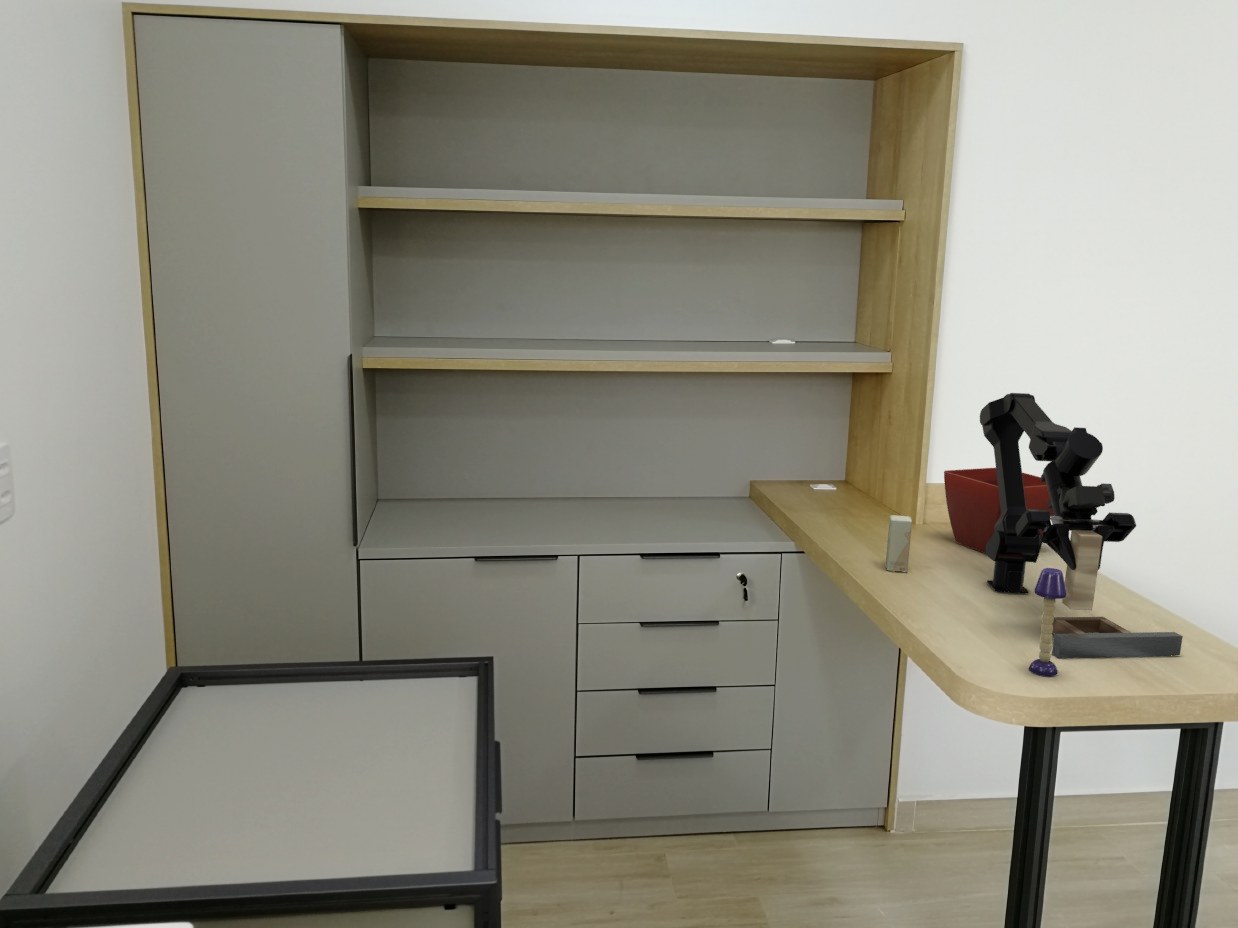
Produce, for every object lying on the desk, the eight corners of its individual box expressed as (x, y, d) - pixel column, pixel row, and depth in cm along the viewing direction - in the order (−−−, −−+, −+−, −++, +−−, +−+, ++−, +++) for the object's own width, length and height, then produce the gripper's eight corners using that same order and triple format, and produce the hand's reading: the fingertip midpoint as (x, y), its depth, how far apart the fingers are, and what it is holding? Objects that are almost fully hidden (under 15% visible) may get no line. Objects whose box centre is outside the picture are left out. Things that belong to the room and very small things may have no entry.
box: (907, 573, 214) (912, 521, 212) (886, 571, 215) (891, 519, 213) (905, 566, 219) (910, 515, 217) (885, 564, 220) (889, 514, 218)
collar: (1049, 630, 182) (1051, 617, 182) (1101, 629, 184) (1102, 616, 183) (1082, 651, 173) (1084, 637, 172) (1136, 650, 174) (1138, 636, 174)
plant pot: (1058, 555, 233) (1067, 483, 230) (996, 563, 224) (1005, 488, 221) (994, 534, 250) (1002, 466, 246) (934, 541, 241) (941, 470, 238)
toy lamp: (1024, 672, 162) (1036, 571, 159) (1025, 663, 166) (1037, 563, 163) (1057, 678, 160) (1070, 576, 157) (1057, 668, 165) (1070, 568, 161)
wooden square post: (1061, 602, 178) (1071, 529, 175) (1082, 603, 178) (1092, 530, 175) (1071, 609, 174) (1081, 535, 172) (1092, 610, 174) (1102, 536, 172)
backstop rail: (1051, 653, 171) (1054, 633, 170) (1171, 651, 174) (1174, 631, 174) (1058, 658, 169) (1061, 638, 168) (1179, 655, 172) (1182, 636, 172)
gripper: (1030, 463, 175) (1049, 543, 166) (1138, 467, 175) (1163, 548, 167) (1007, 497, 184) (1024, 575, 176) (1110, 501, 185) (1132, 579, 176)
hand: (1085, 569), depth 173 cm, fingers closed on wooden square post, 4 cm apart
